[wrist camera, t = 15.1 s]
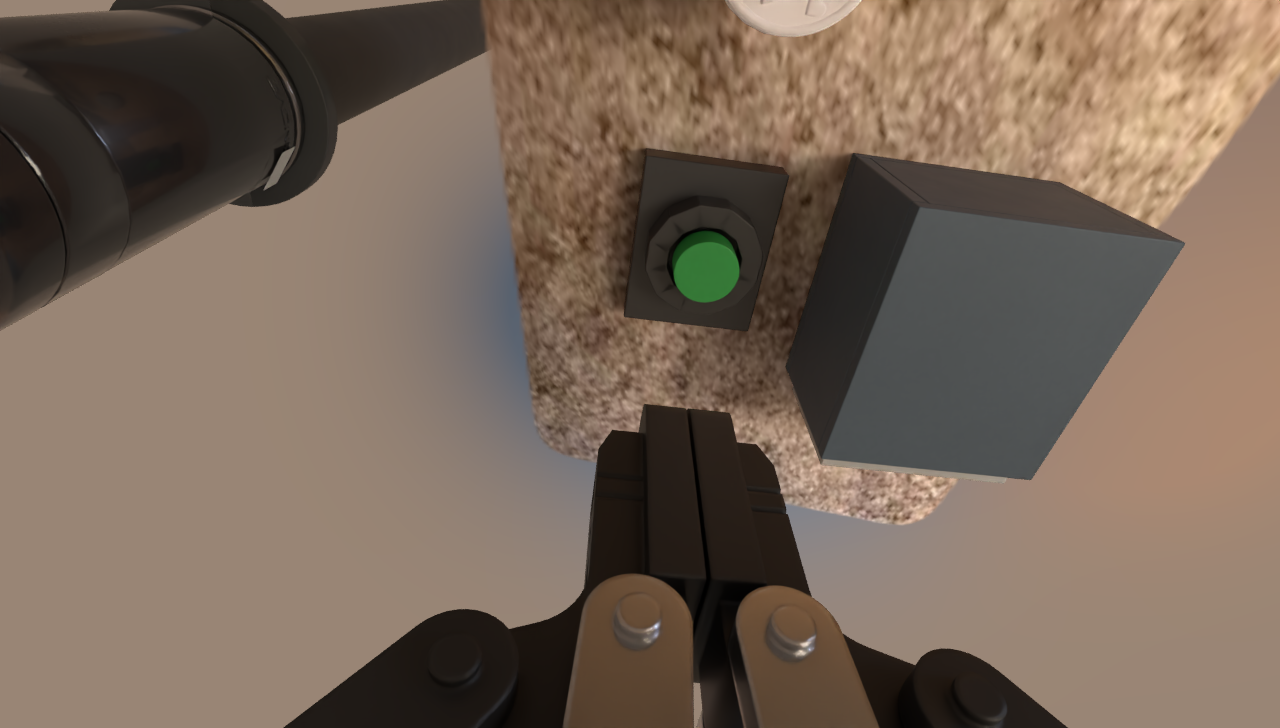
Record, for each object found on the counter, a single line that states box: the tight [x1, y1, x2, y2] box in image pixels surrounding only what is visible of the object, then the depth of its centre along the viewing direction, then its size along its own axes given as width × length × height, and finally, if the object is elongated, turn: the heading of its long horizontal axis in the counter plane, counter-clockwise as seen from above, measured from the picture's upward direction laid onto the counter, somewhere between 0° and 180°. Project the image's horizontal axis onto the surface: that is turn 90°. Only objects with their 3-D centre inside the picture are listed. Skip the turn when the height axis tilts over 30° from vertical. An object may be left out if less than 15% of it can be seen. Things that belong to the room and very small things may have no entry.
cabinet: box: [786, 153, 1185, 480], centre depth 35 cm, size 15×13×10 cm
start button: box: [672, 231, 740, 302], centre depth 34 cm, size 4×4×2 cm
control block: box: [624, 149, 789, 331], centre depth 36 cm, size 10×8×4 cm
